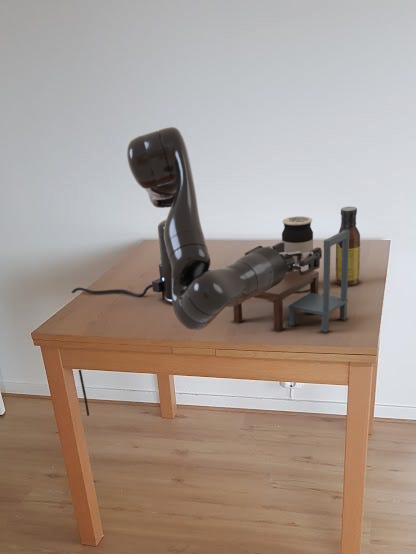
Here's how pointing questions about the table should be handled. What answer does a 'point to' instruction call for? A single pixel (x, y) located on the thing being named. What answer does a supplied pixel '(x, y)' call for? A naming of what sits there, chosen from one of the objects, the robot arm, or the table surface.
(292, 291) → the walnut table
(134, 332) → the table surface
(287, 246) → the travel mug
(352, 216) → the sauce bottle
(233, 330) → the table surface
